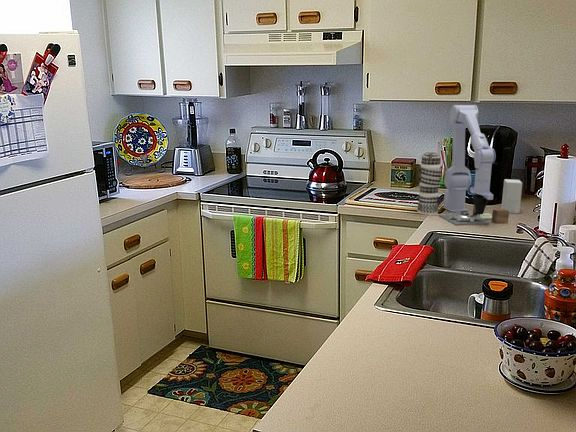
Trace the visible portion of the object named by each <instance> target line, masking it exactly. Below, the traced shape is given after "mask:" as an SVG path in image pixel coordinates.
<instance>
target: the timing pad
mask: <svg viewBox="0 0 576 432" xmlns="http://www.w3.org/2000/svg"><path fill="white" fill-rule="evenodd" d="M480 217H481V219H483V220H486V221H487V220H491V221H492V213H489V212H486V213H484V212H483V214H480Z"/></svg>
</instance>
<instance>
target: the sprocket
mask: <svg viewBox="0 0 576 432" xmlns="http://www.w3.org/2000/svg"><path fill="white" fill-rule="evenodd" d="M448 214H449V218H450V219H455V220H457V221H470V222H474V221H476V220H481V217H480V215H478V214H476V208H475V203H473V210H472V211H455V212H451V211H449V213H448Z"/></svg>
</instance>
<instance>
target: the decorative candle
mask: <svg viewBox="0 0 576 432" xmlns="http://www.w3.org/2000/svg"><path fill="white" fill-rule="evenodd" d="M441 158H442V156H441V155H440V153H439V152H435V151H426V152H424V153H423V155H421V163H420V165H419V166H418V168H419V170H418V172H419V174H418V177H419V178H418V181H419V183H418V184H419V193H418V195H417V198H418V199H417V201H418V203H417V213H418V214H420V215H425V216H426V215H428V216H430V215H431V216H432V215H433V216H435V215H437V214H439V206H440V205H439V202H440V200H439V199H440V196H439V193H440V192H439V187H440V186H441V182H442V181H441V180H440V178H441V177H442V175H441V174H443V173H442V171H441V169H442V168H443V166H442V164H441Z"/></svg>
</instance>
